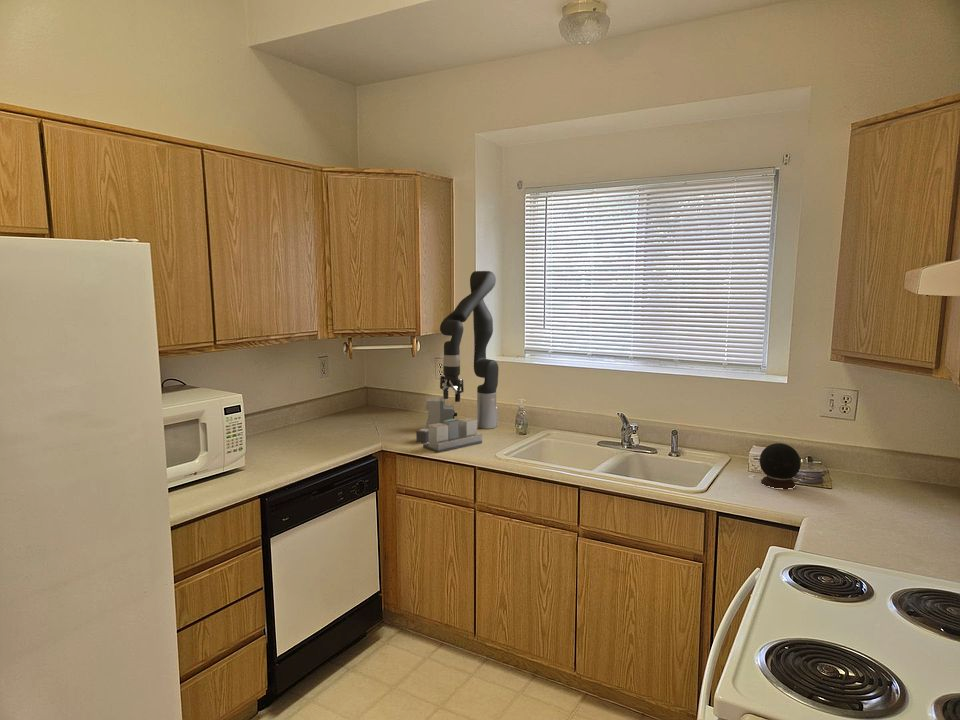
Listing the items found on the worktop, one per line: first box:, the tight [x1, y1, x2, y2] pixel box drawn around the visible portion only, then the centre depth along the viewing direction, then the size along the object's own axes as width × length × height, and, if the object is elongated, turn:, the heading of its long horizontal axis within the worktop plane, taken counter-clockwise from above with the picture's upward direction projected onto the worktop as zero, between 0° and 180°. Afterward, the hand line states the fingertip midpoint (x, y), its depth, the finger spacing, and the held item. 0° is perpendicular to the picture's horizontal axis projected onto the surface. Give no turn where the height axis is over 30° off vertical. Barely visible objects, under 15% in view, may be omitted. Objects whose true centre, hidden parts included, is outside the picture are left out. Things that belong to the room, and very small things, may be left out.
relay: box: [415, 428, 429, 444], centre depth 276 cm, size 5×5×5 cm
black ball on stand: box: [759, 442, 802, 489], centre depth 220 cm, size 13×13×15 cm
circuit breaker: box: [425, 397, 458, 429], centre depth 295 cm, size 8×14×15 cm, turn 89°
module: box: [443, 418, 459, 439], centre depth 282 cm, size 6×4×9 cm
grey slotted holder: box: [422, 417, 483, 454], centre depth 270 cm, size 24×11×10 cm, turn 130°
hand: (451, 400), depth 280 cm, fingers open, 8 cm apart
